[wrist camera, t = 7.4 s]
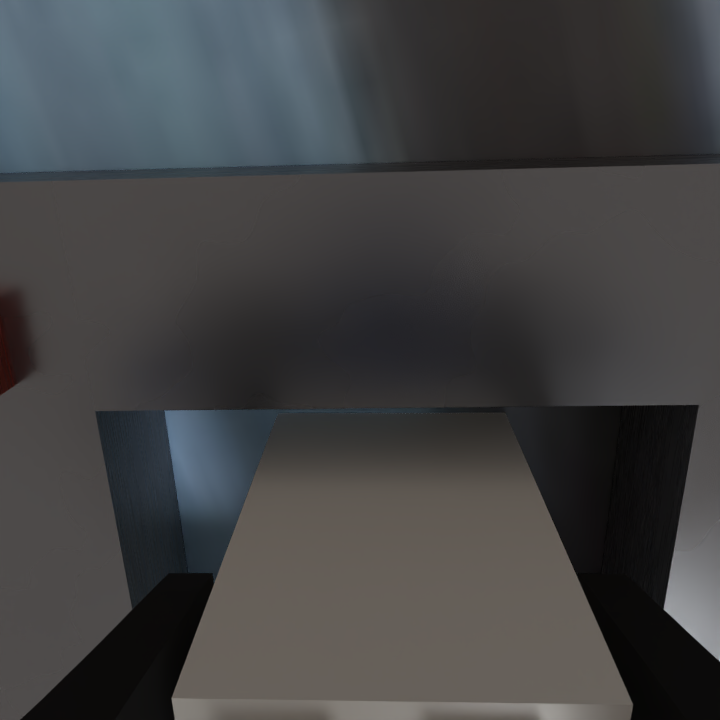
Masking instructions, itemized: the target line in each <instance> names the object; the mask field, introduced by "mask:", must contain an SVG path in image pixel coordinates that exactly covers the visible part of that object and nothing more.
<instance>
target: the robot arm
mask: <svg viewBox="0 0 720 720" xmlns="http://www.w3.org/2000/svg"><path fill="white" fill-rule="evenodd" d="M578 580H579V582H580V585H581V587H582V589H583V591H584V594H585V596H586V598H587V601H588V603H589V605H590V607H591V610H592V612H593V614H594V617H595V619H596V621H597V623H598V626H599V628H600V630H601V633H602V635H603V637H604V639H605V642H606V644H607V646H608V649H609V651H610V653H611V655H612V658H613V660H614V662H615V665H616V667H617V669H618V671H619V674H620V676H621V678H622V681H623V683H624V685H625V687H626V690H627V692H628V694H629V697H630V699H631V701H632V703H633V708H632V714H631V720H720V661H719V660H717V659H716V658H715V657H714V656H713V655H712V654H711V653H710V652H709V651H708V650H707V649H705V648H704V647H703V646H702V645H701V644H700V643H699V642H698V641H697V640H696V639H695V638H694V637H693V636H692V635H690V634H689V633H688V632H687V631H686V630H685V629H684V628H683V627H682V626H681V625H680V624H679V623H678V622H677V621H675V620H674V619H673V618H672V617H671V616H670V615H669V614H668V613H667V612H666V611H665V610H664V609H663V608H662V607H661V606H660V605H658V604H657V603H656V602H655V601H654V600H653V599H652V598H651V597H650V596H649V595H648V594H647V593H646V592H645V591H644V590H643V589H641V588H640V587H639V586H638V585H637V584H636V583H635V582H634V581H633V580H632V579H631V578H629V577H628V576H627V575H626V574H582V573H578ZM213 585H214V581H213V573H168V574H167V575H166V576H165V577H164V578H163V579H162V580H161V581H160V582H159V583H158V584H157V585H156V586H155V587H154V588H153V589H152V590H151V591H150V592H149V593H148V594H147V595H146V596H145V597H144V598H143V599H142V600H141V601H140V602H139V603H138V604H137V605H136V606H135V607H134V608H133V609H132V610H131V611H130V612H129V613H128V614H127V615H126V616H125V617H124V618H123V619H122V620H121V621H120V623H119V624H118V625H117V626H116V627H115V628H114V629H113V630H112V631H111V632H110V633H109V634H108V635H107V636H106V637H105V638H104V639H103V640H102V641H101V642H100V643H99V644H98V645H97V646H96V647H95V648H94V649H93V650H92V651H91V652H90V653H89V654H88V655H87V656H86V657H85V658H84V659H83V660H82V661H81V662H80V663H79V664H78V665H77V666H75V667H74V668H73V669H72V670H71V671H70V672H69V673H68V674H67V675H66V676H65V677H64V678H63V679H62V680H61V681H60V682H59V683H58V684H57V685H56V686H55V687H54V688H53V689H52V690H51V691H50V692H49V693H48V694H47V695H46V696H45V697H44V698H43V699H42V700H41V701H40V702H38V703H37V704H36V705H35V706H34V707H33V708H32V709H31V710H30V711H29V712H28V713H27V714H26V715H25V716H24V717H22V718H21V719H20V720H175V717H174V711H173V705H172V699H171V698H172V696H173V693H174V690H175V687H176V685H177V682H178V679H179V677H180V674H181V671H182V669H183V666H184V663H185V661H186V658H187V655H188V653H189V650H190V647H191V645H192V642H193V639H194V636H195V634H196V631H197V628H198V626H199V623H200V620H201V618H202V615H203V612H204V610H205V607H206V604H207V602H208V599H209V596H210V593H211V591H212V588H213Z"/></svg>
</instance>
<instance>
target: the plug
mask: <svg viewBox="0 0 720 720" xmlns="http://www.w3.org/2000/svg"><path fill="white" fill-rule="evenodd" d="M171 699H172V705H173V711H174V717H175V720H631V714H632V708H633V703H632V701H631V699H630V697H629V694H628V692H627V690H626V687H625V685H624V683H623V681H622V678H621V676H620V674H619V671H618V669H617V667H616V665H615V662H614V660H613V658H612V655H611V653H610V651H609V649H608V646H607V644H606V642H605V639H604V637H603V635H602V633H601V630H600V628H599V626H598V623H597V621H596V619H595V617H594V614H593V612H592V610H591V607H590V605H589V603H588V601H587V598H586V596H585V594H584V591H583V589H582V587H581V585H580V582H579V580H578V578H577V575H576V573H575V571H574V569H573V566H572V564H571V562H570V559H569V557H568V555H567V553H566V550H565V548H564V546H563V543H562V541H561V539H560V537H559V534H558V532H557V530H556V528H555V525H554V523H553V521H552V518H551V516H550V514H549V512H548V509H547V507H546V505H545V502H544V500H543V498H542V496H541V493H540V491H539V489H538V486H537V484H536V482H535V480H534V477H533V475H532V473H531V470H530V468H529V466H528V464H527V461H526V459H525V457H524V454H523V452H522V450H521V448H520V445H519V443H518V441H517V438H516V436H515V434H514V432H513V429H512V427H511V425H510V422H509V420H508V418H507V416H506V413H505V412H488V413H278V414H277V416H276V419H275V422H274V424H273V427H272V430H271V432H270V435H269V438H268V440H267V443H266V446H265V449H264V451H263V454H262V457H261V459H260V462H259V465H258V467H257V470H256V473H255V475H254V478H253V481H252V483H251V486H250V489H249V491H248V494H247V497H246V500H245V502H244V505H243V508H242V510H241V513H240V516H239V518H238V521H237V524H236V526H235V529H234V532H233V534H232V537H231V540H230V542H229V545H228V548H227V551H226V553H225V556H224V559H223V561H222V564H221V567H220V569H219V572H218V575H217V577H216V580H215V583H214V585H213V588H212V591H211V593H210V596H209V599H208V602H207V604H206V607H205V610H204V612H203V615H202V618H201V620H200V623H199V626H198V628H197V631H196V634H195V636H194V639H193V642H192V645H191V647H190V650H189V653H188V655H187V658H186V661H185V663H184V666H183V669H182V671H181V674H180V677H179V679H178V682H177V685H176V687H175V690H174V693H173V696H172V698H171Z"/></svg>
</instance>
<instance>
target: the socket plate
mask: <svg viewBox="0 0 720 720" xmlns="http://www.w3.org/2000/svg"><path fill="white" fill-rule="evenodd" d="M532 406H623V407H622V415H621V423H620V431H619V438H618V446H617V454H616V462H615V470H614V478H613V485H612V493H611V501H610V509H609V517H608V525H607V533H606V540H605V548H604V556H603V564H602V572H601V574H626V575H627V576H628V577H629V578H631V579H632V580H633V581H634V582H635V583H636V584H637V585H638V586H639V587H640V588H641V589H643V590H644V591H645V592H646V593H647V594H648V595H649V596H650V597H651V598H652V599H653V600H654V601H655V602H656V603H657V604H658V605H660V606H661V607H662V608H663V609H664V610H665V611H666V612H667V613H668V614H669V615H670V616H671V617H672V618H673V619H674V620H675V621H677V622H678V623H679V624H680V625H681V626H682V627H683V628H684V629H685V630H686V631H687V632H688V633H689V634H690V635H692V636H693V637H694V638H695V639H696V640H697V641H698V642H699V643H700V644H701V645H702V646H703V647H704V648H705V649H707V650H708V651H709V652H710V653H711V654H712V655H713V656H714V657H715V658H716V659H717V660H719V661H720V154H706V155H668V156H630V157H592V158H554V159H517V160H479V161H441V162H403V163H366V164H328V165H290V166H252V167H214V168H177V169H139V170H101V171H63V172H26V173H0V720H20V719H21V718H22V717H24V716H25V715H26V714H27V713H28V712H29V711H30V710H31V709H32V708H33V707H34V706H35V705H36V704H37V703H38V702H40V701H41V700H42V699H43V698H44V697H45V696H46V695H47V694H48V693H49V692H50V691H51V690H52V689H53V688H54V687H55V686H56V685H57V684H58V683H59V682H60V681H61V680H62V679H63V678H64V677H65V676H66V675H67V674H68V673H69V672H70V671H71V670H72V669H73V668H74V667H75V666H77V665H78V664H79V663H80V662H81V661H82V660H83V659H84V658H85V657H86V656H87V655H88V654H89V653H90V652H91V651H92V650H93V649H94V648H95V647H96V646H97V645H98V644H99V643H100V642H101V641H102V640H103V639H104V638H105V637H106V636H107V635H108V634H109V633H110V632H111V631H112V630H113V629H114V628H115V627H116V626H117V625H118V624H119V623H120V621H121V620H122V619H123V618H124V617H125V616H126V615H127V614H128V613H129V612H130V611H131V610H132V609H133V608H134V607H135V606H136V605H137V604H138V603H139V602H140V601H141V600H142V599H143V598H144V597H145V596H146V595H147V594H148V593H149V592H150V591H151V590H152V589H153V588H154V587H155V586H156V585H157V584H158V583H159V582H160V581H161V580H162V579H163V578H164V577H165V576H166V575H167V574H168V573H188V570H187V563H186V556H185V550H184V543H183V536H182V529H181V522H180V516H179V509H178V502H177V495H176V488H175V481H174V475H173V468H172V461H171V454H170V447H169V440H168V434H167V427H166V420H165V413H164V410H240V409H338V408H435V407H532Z"/></svg>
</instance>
